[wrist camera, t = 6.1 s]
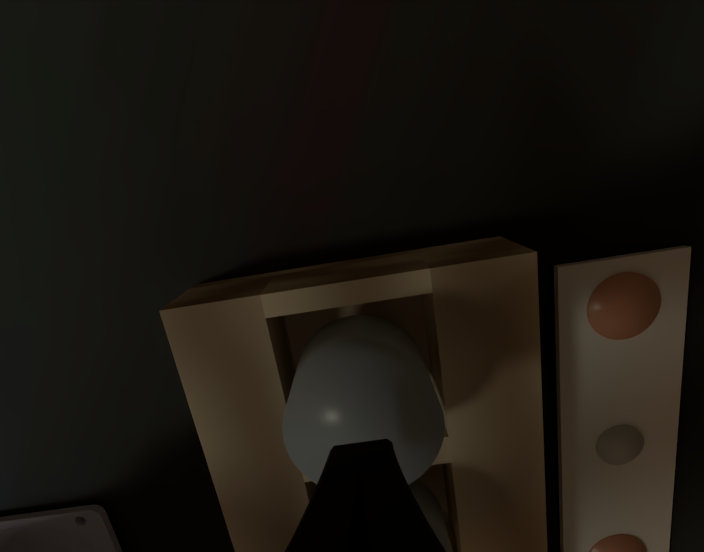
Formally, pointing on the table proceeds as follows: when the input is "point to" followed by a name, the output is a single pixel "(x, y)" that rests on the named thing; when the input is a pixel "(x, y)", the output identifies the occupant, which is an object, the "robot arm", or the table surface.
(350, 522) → the robot arm
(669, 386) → the pattern card
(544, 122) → the table surface
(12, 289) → the table surface
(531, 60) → the table surface
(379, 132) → the table surface
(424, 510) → the button
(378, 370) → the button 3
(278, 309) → the wooden tray
